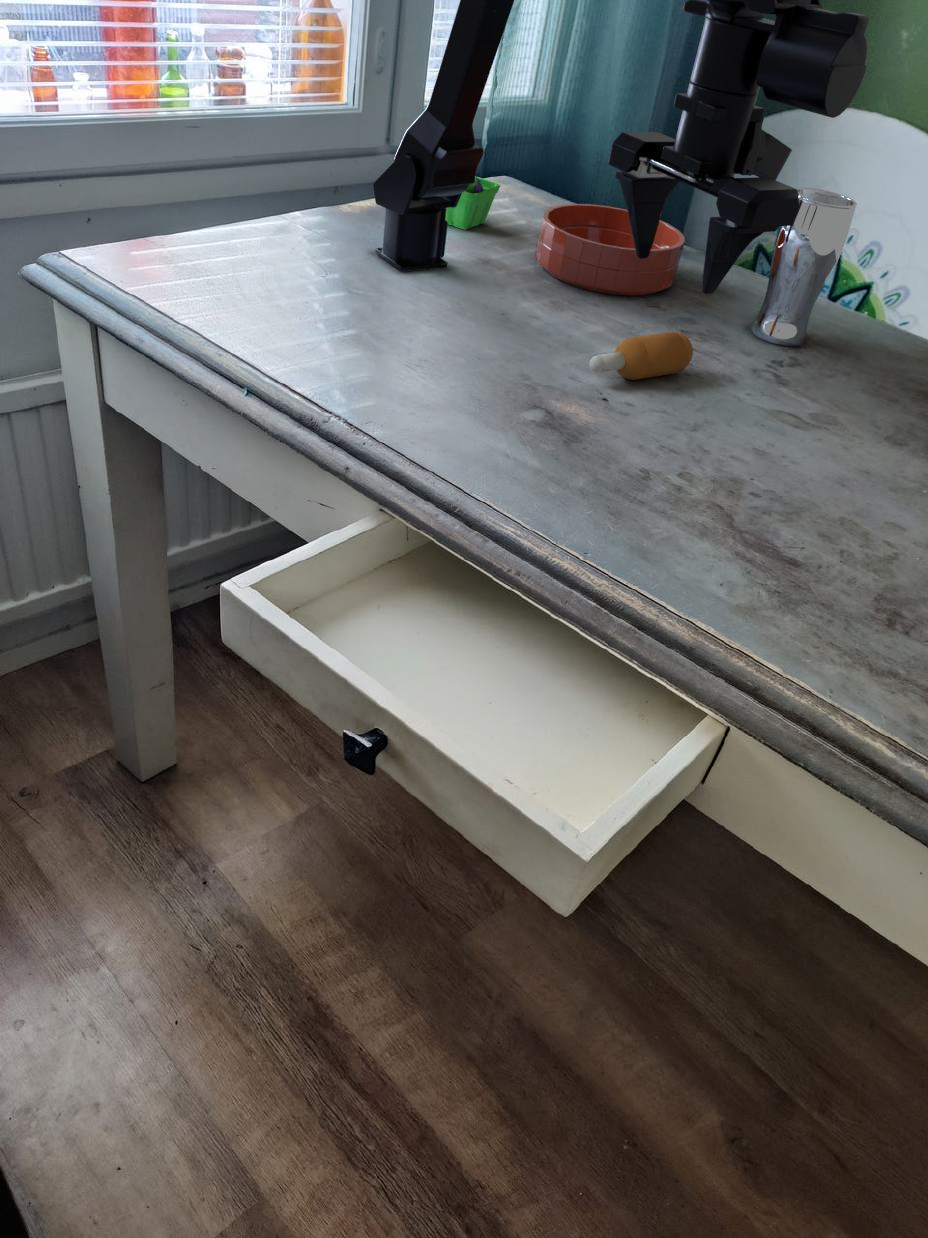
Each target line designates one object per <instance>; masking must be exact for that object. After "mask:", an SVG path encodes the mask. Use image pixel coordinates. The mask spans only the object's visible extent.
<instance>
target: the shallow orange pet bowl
mask: <svg viewBox="0 0 928 1238" xmlns="http://www.w3.org/2000/svg"><path fill="white" fill-rule="evenodd" d="M685 243H686V239H685V235H684V234H683V233H682V232H681V231H680V230H679V229H677V228H676V227H675V226H673V225H671V224H669V223H668V222H665V221H663V220H661V219H660V221H659V225H658V228H657V232H656V235H655V239H654V242H653V245H652V248H651V250H650V253H649V256H648V257H647V258H645V259H640V258H638V257H637V254H636V249H635V244H634V239H633V234H632V229H631V224H630V220H629V215H628V211H627V209H624V208H619V207H613V206H608V205H601V204H599V205H598V204H591V203H568V204H560V205H559V204H558V205H554V206H551V207H549V208H548V209H546V210H544V211H543V215H542V219H541V225H540V231H539V237H538V242H537V248H536V254H535V258H536V260H537V262H538V264H539V265H540V266H541V267H543V268H544V270H546V272H547V273H549V274H550V275H552V277H554V278H557V280H561V281H563V282H565V283H566V284H570V285H573V286H576V287H579V288H581V289H585V290H588V291H593V292H597V293H603V294H604V293H605V294H610V295H618V296H645V295H651V294H655V293H658V292H661V291H664V290H665V289H668V288H670V287H671V286H672V285H673V284H674V282H675V281H676V276H677V272H678V269H679V265H680V260H681V257H682V255H683V250H684V247H685Z"/></svg>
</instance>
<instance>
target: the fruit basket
mask: <svg viewBox="0 0 928 1238" xmlns="http://www.w3.org/2000/svg"><path fill="white" fill-rule="evenodd" d="M500 188H501V184H499V183H498V182H496V181H491V180H488V179H485V178H482V177H478V176H477V175H475V183H473V184H469V185H468V187H467V189H466V190H465V191H464V192H463V193H462V194H461V197H460V199H459V202H458V204H457V207H455V208H451V207H450V208H446V218H445V220H446V221H447V222H448V225H449V226H453V227H455V228H458V229H460V230H464V231H465V230H468V229H471V228H474V227H477V226H478V225H482V224H484V223H485V222H486V219H487V217H488V214H489V213H490V209H491V207H492V204H493V203H494V200H495V197H496V195H497V194H498V192H499V190H500Z"/></svg>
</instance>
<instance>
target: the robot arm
mask: <svg viewBox="0 0 928 1238" xmlns="http://www.w3.org/2000/svg"><path fill="white" fill-rule="evenodd" d="M514 3H515V0H459V3H458V5H457V9H456V13H455V15H454V19H453V22H452V25H451V28H450V33H449V35H448V39H447V42H446V46H445V49H444V53H443V55H442V59H441V62H440V65H439V69H438V72H437V75H436V79H435V82H434V85H433V89H432V92H431V95H430V98H429V102H428V104H427V106H426V108H425V110H424V111H423V112H422V113H421V114H420V115H419V116H418V117H417V118H416V119H415V121H414V122H412V124H411V125H410V126H409V127H408V128H407V129H406V131H405V133H404V134H403V137H402V140H401V142H400V144H399V146H398V148H397V150H396V153H395V155H394V158H393V162H392V163H391V164H390V166H389V167H387V168H386V169H385V171H384V172H383V173H382V174H381V175H380V176H379V177H378V178H377V179H376V180H375V181H374V182H373V183H372V184H373V185H372V187H373V193H374V194H373V195H374V201H375V204H376V205H378V206H380V207H382V208H385V210H384V213H385V214H384V224H383V239H382V247H376V248H375V254H377V255H378V256H379V257H380V258H381V259H383V260H385V261H386V262H387V263H389V264H390V265H392V266H393V267H394V268H395V269H397V270H398V271H402V272H405V271H406V272H407V271H408V272H409V271H419V270H431V269H433V270H434V269H446V268H448V265H449V262H448V261H446V260H444V259H443V258H444V257H445V254H446V253H445V252H446V244H447V235H448V225H449V224H448V222H447V221H446V220H445V218H446V208H450V207H451V208H455V207H457V204H458V202H459V199H460V197H461V194H462V193H463V192H464V191H465V190H466V189H467V187H468V185H469V184H473V183H475V176H476V173H477V170H478V167H479V164H480V162H481V160H482V158H483V157H484V151H485V150H484V147H482V146H480V145H479V144H477V143H476V137H475V133H474V132H475V131H474V126H473V124H474V120H475V118H476V114H477V111H478V108H479V105H480V102H481V100H482V96H483V94H484V91H485V88H486V85H487V83H488V79H489V76H490V73H491V70H492V67H493V64H494V62H495V58H496V56H497V53H498V51H499V50H498V49H499V47H500V44H501V41H502V39H503V35H504V33H505V30H506V27H507V24H508V20H509V18H510V15H511V13H512V8H513V6H514ZM823 7H824V6H823V2H822V0H686V1H685V2H684V3H683V8H682V9H683V11H684V12H685V13H688V14H692V15H696V16H701V17H704V23H703V27H702V31H701V35H700V39H699V42H698V47H697V51H696V55H695V58H694V64H693V67H692V71H691V74H690V75H691V76H690V79H689V84H688V88H687V92H686V93H681V92H680V93H679V92H677V93H675V97H674V101H673V105H672V107H673V108H676V109H678V110H681V111H682V112H681V115H680V120H679V124H678V129H677V133H676V136H675V138H673V137H671V136H668V135H666V134H664V133H661V132H657V131H622V132H621V133H620V134H619V135H618V136H617V137H616V138H615V139H614V140H613V141H612V143H611V147H610V152H609V157H608V161H607V165H608V166H611V167H613V168H615V169H617V170H616V171H615V172H614V178H615V179H616V180H618V181H619V185H620V188H621V192H622V195H623V199H624V203H625V206H626V210H627V211H628V215H629V220H630V224H631V229H632V234H633V239H634V244H635V249H636V254H637V257H638V258H640V259H645V258H647V257H648V256H649V253H650V250H651V248H652V245H653V242H654V239H655V235H656V232H657V228H658V225H659V221H660V220H661V217H662V214H663V211H664V207H665V203H666V200H667V198H668V197H669V195H670V194H671V193H672V192H673V190H674V189H675V188H676V186H678V185H679V183H680V182H682V183H683V184H686V185H689V186H691V187H693V188H695V189H697V190H700V191H702V192H704V193H706V194H708V195H710V196H713V197H715V198H716V201H715V205H716V208H717V212H718V216H710V217H709V223H708V230H707V238H706V239H707V240H706V247H705V254H704V261H703V262H704V263H703V271H702V281H701V282H702V283H701V284H702V285H701V286H702V287H701V293H702V294H704V295H713V294H714V293H715V291H716V290H717V288H718V287H719V286H720V284H721V283H722V282H723V280H724V279H725V278H726V276H727V274H728V273H729V271H730V270H731V269H732V268H733V266H734V264H735V263H736V262H737V260H738V259H739V258H740V256H741V255H742V254H743V252H744V251H745V250H746V249H747V247H748V246H750V244H751V243H752V242H753V241H754V240H755V239H756V238H758V237H759V236H761V235H762V234H764V233H772V232H776V231H778V230H779V228H780V226H793V225H794V222H795V219H796V216H797V213H798V210H799V207H800V198H799V195H798V191H797V188H796V187H792V186H790V185H788V184H786V183H783V182H780V181H779V180H777V179H778V177H779V175H780V174H781V171H782V170H783V169H784V166H785V164H786V163H787V161H788V159H789V157H790V155H791V153H792V152H793V149H792V148H791V147H789V146H788V145H786V144H785V143H784V142H782V141H781V140H780V139H778V138H776V137H775V136H773V135H772V134H770V133H769V132H766V131H765V130H764V129H762V128H763V123H764V121H765V108H764V107H761V106H758V105H756V102H757V99H758V96H759V92H760V89H761V88H762V91H763V94H764V97H765V98H766V99H767V100H768V101H771V102H774V103H778V104H781V105H785V106H789V107H792V108H795V109H799V110H803V111H806V112H810V113H813V114H817V115H820V116H824V117H828V118H831V119H834V118H837V117H839V116H841V115H842V114H843V113H844V112H845V111H846V110H847V108H848V107H849V106H850V105H851V103H852V102H853V100H854V99H855V97H856V95H857V93H858V91H859V89H860V87H861V84H862V82H863V81H864V80H863V79H864V77H865V74H866V71H867V65H866V61H867V56H868V55H867V53H868V42H867V38H866V35H865V34H866V30H867V28H868V25H869V22H870V18H869V15H866V14H861V13H856V12H839V11H838V12H837V11H833V10H832V11H831V10H829V9H824V8H823ZM765 15H772V16H773V15H775V20H772V19H768V18H765ZM735 175H740V176H749V177H735ZM751 176H755V177H751Z"/></svg>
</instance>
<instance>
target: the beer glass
mask: <svg viewBox="0 0 928 1238" xmlns="http://www.w3.org/2000/svg"><path fill="white" fill-rule="evenodd" d="M796 189H797V191H798V195H799V198H800V207H799V210H798V213H797V216H796V219H795V222H794V225H793V226H780V227H779V228H778V230H777V235H776V238H775V240H774V241H775V242H774V245H773V246H774V247H773V251H772V256H771V262H770V266H769V267H770V269H769V275H768V282H767V287H766V293H765V296H764V299H763V302H762V305H761V307H760V309H759V312H758V313H757V315H756V317H755V319H754V321H753V322H752V325H751V328H750V329H751V332H752V334H753V335H754V336H755V337H756V338H759V339H761V340H763V341H765V342H768V343H770V344H774V345H777V346H778V345H779V346H784V347H797V346H800V345H803V344H804V343H805V342H806V341H805V340H806V337H807V332H808V325H809V321H810V316H811V313H812V311H813V308H814V306H815V304H816V302H817V300H818V299H819V297H820V295H821V293H822V290H824V287H825V286H826V284H827V282H828V280H829V278H830V277H831V275H832V273H833V271H834V269H835V267H836V265H837V263H838V262H839V259H840V257H841V254H842V251H843V250H844V247H845V244H846V241H847V238H848V235H849V232H850V229H851V225H852V222H853V218H854V215H855V210H856V208H857V205H858V203H857V202H856V200H854V199H853V198H851V197H848V196H846V195H844V194H841V193H838V192H835V191H830V190H826V189H821V188H816V187H815V188H813V187H796Z"/></svg>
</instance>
